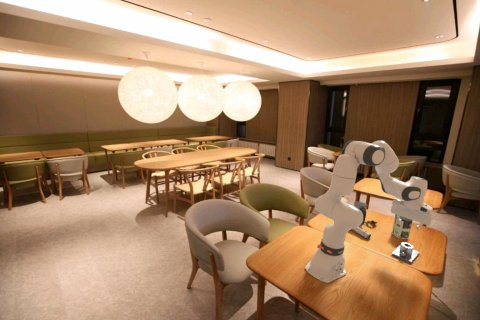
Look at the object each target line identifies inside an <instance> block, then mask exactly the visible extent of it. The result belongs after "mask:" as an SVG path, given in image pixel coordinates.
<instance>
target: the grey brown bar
mask: <svg viewBox="0 0 480 320" xmlns="http://www.w3.org/2000/svg"><path fill="white" fill-rule="evenodd" d="M352 230H353V231H355V232H356V233H357V234H359V235H361V236H362V237H363V238H364V239H366V240H369V239H370V238H371V236H372V235H371V233H369V232H368V231H366V230H364V229H362V228H361V227H360V226H359V227H357V228H353V229H352Z"/></svg>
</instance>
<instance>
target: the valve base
mask: <svg viewBox="0 0 480 320" xmlns="http://www.w3.org/2000/svg"><path fill="white" fill-rule="evenodd" d="M400 246H401V244H399V245H398V246H397V247H396V248H395V249H394V250H393V251H392V252H391V256H393V257H394V258H396V259H398V260H401V261H404V262H405V263H408V264H409V265H410V264H411V265H412V263H414V261H415V260H416V258H417V257H418V256H419V255H420V251H418V250H415V249H413V251H412V255H411V256H409V255H406V253H405V252H404V251H402V252H400Z"/></svg>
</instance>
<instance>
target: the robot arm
mask: <svg viewBox="0 0 480 320" xmlns="http://www.w3.org/2000/svg"><path fill="white" fill-rule="evenodd" d="M360 165H366V167H367V166H369V167H374V170H375V173H376V174H377V175H376V176H377V178H378V180H379V182H380V185H381V190H382V192H383V193H385V194H387V195H391V196H393V197H395V198H394V199H393V200H392V202H391V204H392V205H391V207H390V213H391V214H394V215H395V214H397V215H396V216H397V219H398V221H397V222H401V220H402V219H400V217H399V216H402V217H405V218H408V219H411V220H413V221H414V222H418V223H419V225H418V224H417V225H416V226H415V229H416V230H420V228H421V227H422V226H423V225H425V226H431V225H432V224H433V221H434V220H433V219H434V213H433V212H432V211H433V209H434V208H433V207H432V206H431V205H430V204H428V203H426V202H425V196H426V195H427V191H428V180H427V179H425V178H421V177H418V176H411V177H410V179H408V180H407V181H405V182H404V181H402V180H399V179H396V178H394V177H392V176H391V173H394V172H395V171H397V169H398V168H399V166H400V160H399V158H398V156H397V155H396V153H395V151H394V150H393V149H392V147H391V146H390V145H389V144H388V143H387V142H386V141H384V140H376V141H373V142H371V143H370V142H367V141H362V140H360V141H358V140H356V139H355V140H348V141H347V142H345V144H344V145H343V147H342V149H341V154H340V155H339V156H338V157H337V159H336V161H335V164H334V167H333V169H332V175H331V181H330V185H329V188H328V190H327V191H326V192H325V193H323V194H322V195H319V196H318V197H317V198H316V200H315V201H314V208H315V210H316V211H317V212H319V214H321V215H322V216H324V217H326V218H329V220H332V221H333V222H334V223H330V224H327V225H326V226H325V227H324V228H323V234H322V239H321V241H320V242H319V244H317V246H316V247H317V248H318V249H317V250H316V251H315V252H314V254H313V255H312V258H311V259H310V260H309V261H308V262H307V264H306V265H305V267H304V269H305V270H306V272H307V273H308V274H309V275H311V276H312V277H313V278H315V279H316V280H318V281H320V282H323V283H326V284H328V283H331V282H333V281H335V280H337V279H339V278H342V277H344V276H346V275H347V271H346V270H345V266H346V265H345V264H346V258H345V255H344V252H345V240H346V236H347V233H348V232H349V231H351V230H353V228H357V227H359V228H360V227H361V225H363V224H362V222H363V213H362V211H361V210H359V209H358V208H356V207H354V205H352V204H349V203H347V202H344V201H342V197H343V196H344V197H346V196H350V195H351V194H352V193H353V192H354V190H355V184H356V179H357V174H358V168H359V166H360Z"/></svg>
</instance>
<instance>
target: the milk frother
mask: <svg viewBox="0 0 480 320" xmlns="http://www.w3.org/2000/svg"><path fill="white" fill-rule="evenodd" d="M353 204H354V205H353V206H354V207H356V208H358V209H359V210H361V211H362V213H363V222H362V224H361V225H364V224H370V225H374V224H378V221H375V220H374V219H373V220H368V221H366V218H367V207H368V204H367V203H365V202H363V201H354V203H353Z"/></svg>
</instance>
